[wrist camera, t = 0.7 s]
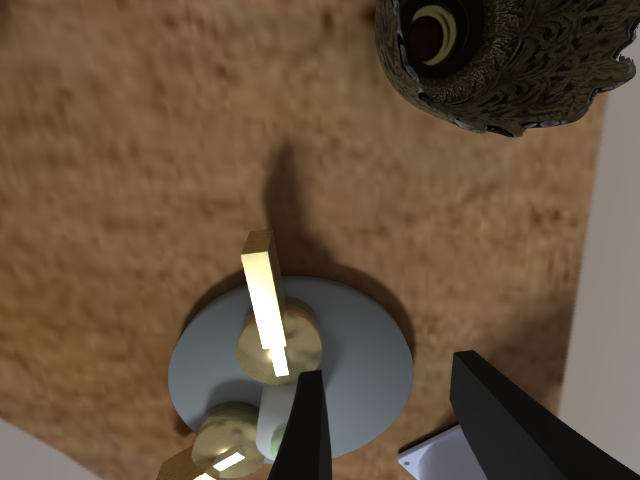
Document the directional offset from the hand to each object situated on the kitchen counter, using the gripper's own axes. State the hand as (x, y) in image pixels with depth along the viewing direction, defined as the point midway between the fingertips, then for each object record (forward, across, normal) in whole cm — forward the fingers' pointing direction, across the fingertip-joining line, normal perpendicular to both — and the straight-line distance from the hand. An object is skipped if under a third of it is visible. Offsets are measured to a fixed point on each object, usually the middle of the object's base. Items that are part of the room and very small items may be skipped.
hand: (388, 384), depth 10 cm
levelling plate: (+10, +4, +10) cm, 15 cm away
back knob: (+9, +11, +14) cm, 20 cm away
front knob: (+9, +4, +2) cm, 10 cm away
